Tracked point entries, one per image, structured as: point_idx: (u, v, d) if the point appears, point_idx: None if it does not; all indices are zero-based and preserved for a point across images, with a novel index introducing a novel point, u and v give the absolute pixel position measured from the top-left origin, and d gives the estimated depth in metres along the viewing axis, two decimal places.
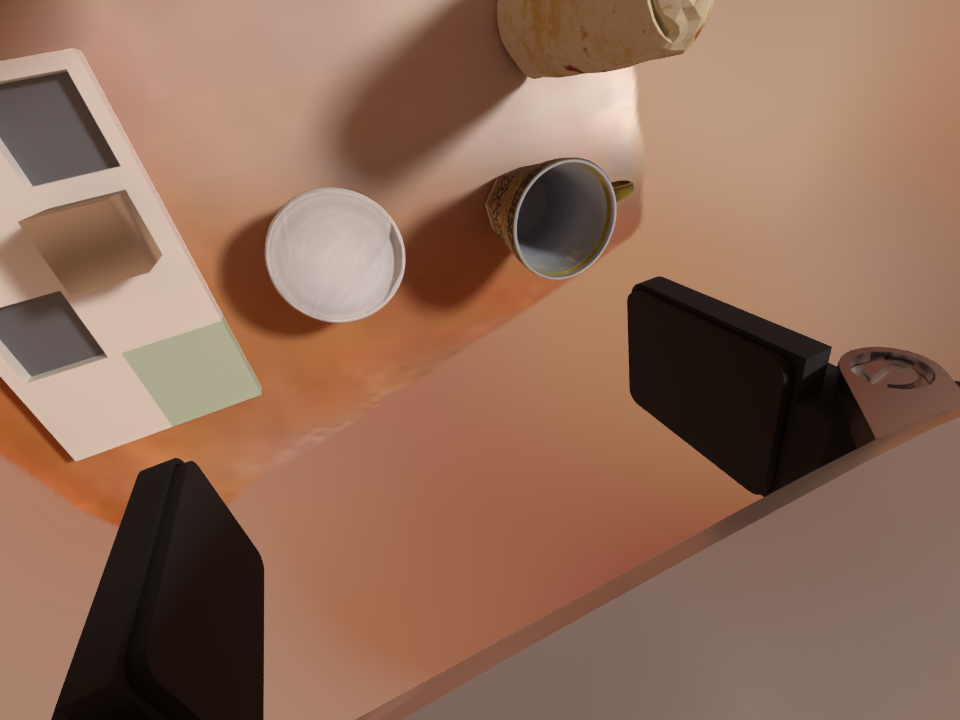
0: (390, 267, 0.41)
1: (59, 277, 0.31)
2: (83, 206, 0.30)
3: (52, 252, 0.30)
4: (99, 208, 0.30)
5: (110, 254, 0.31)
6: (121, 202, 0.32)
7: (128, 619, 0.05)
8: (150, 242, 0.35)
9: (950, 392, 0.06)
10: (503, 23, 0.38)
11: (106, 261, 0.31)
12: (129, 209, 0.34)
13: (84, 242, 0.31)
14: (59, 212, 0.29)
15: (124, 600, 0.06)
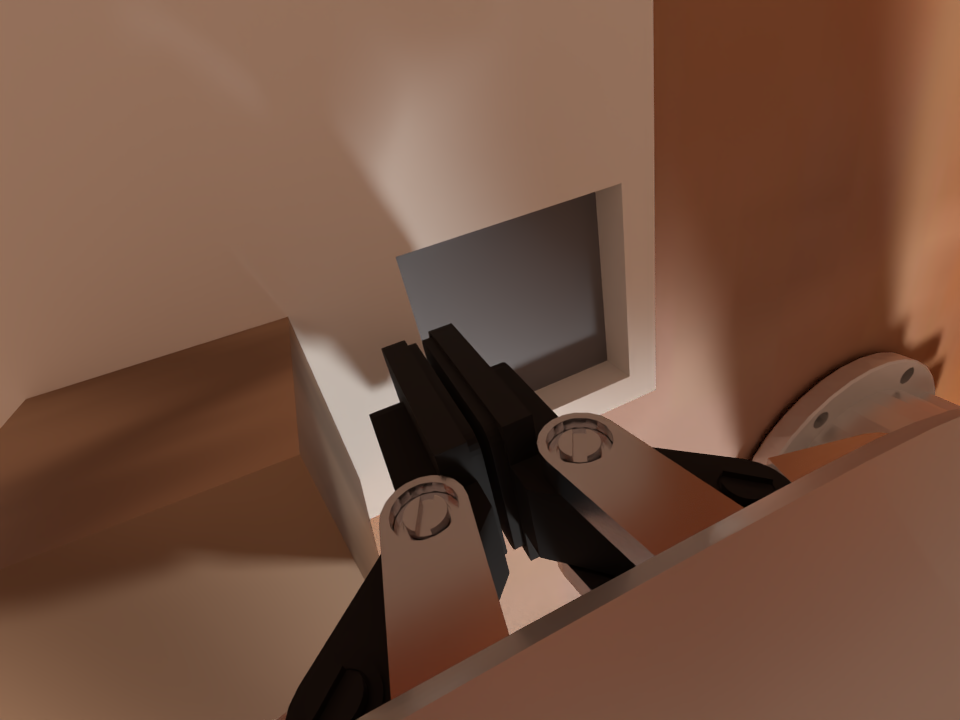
0: None
1: None
2: None
3: (143, 558, 0.06)
4: None
5: (176, 705, 0.07)
6: None
7: (450, 415, 0.07)
8: None
9: (630, 442, 0.06)
10: None
11: (135, 703, 0.07)
12: None
13: (224, 637, 0.07)
14: (351, 562, 0.07)
15: (437, 408, 0.08)
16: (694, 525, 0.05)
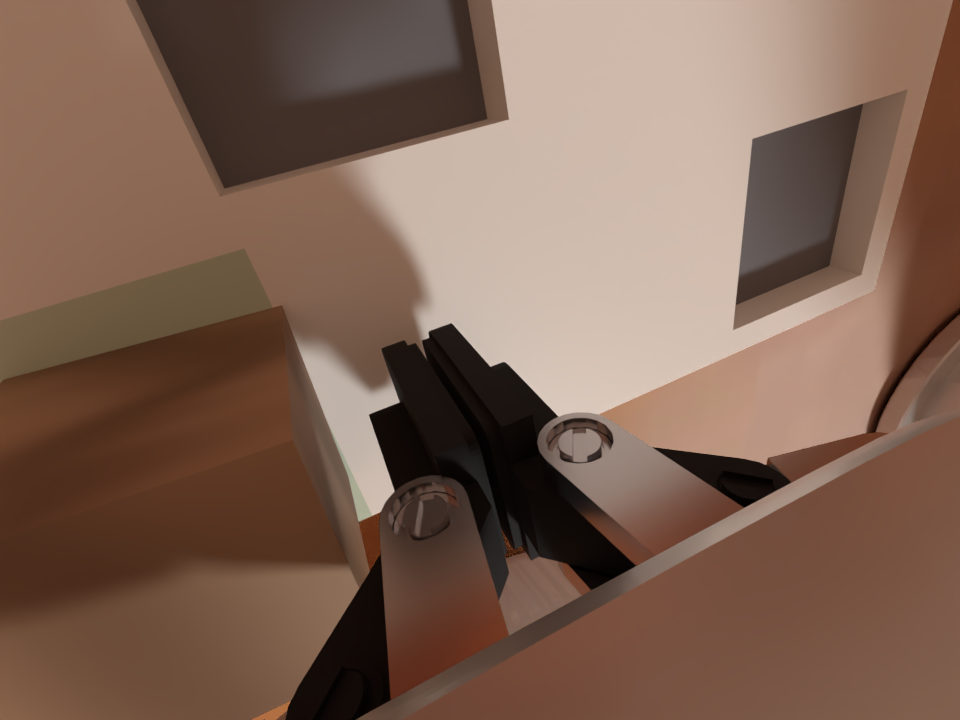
0: None
1: None
2: None
3: (124, 544, 0.06)
4: None
5: (149, 702, 0.07)
6: None
7: (450, 415, 0.07)
8: None
9: (630, 442, 0.06)
10: None
11: (106, 699, 0.06)
12: None
13: (204, 630, 0.07)
14: (340, 556, 0.07)
15: (436, 408, 0.08)
16: (694, 525, 0.05)
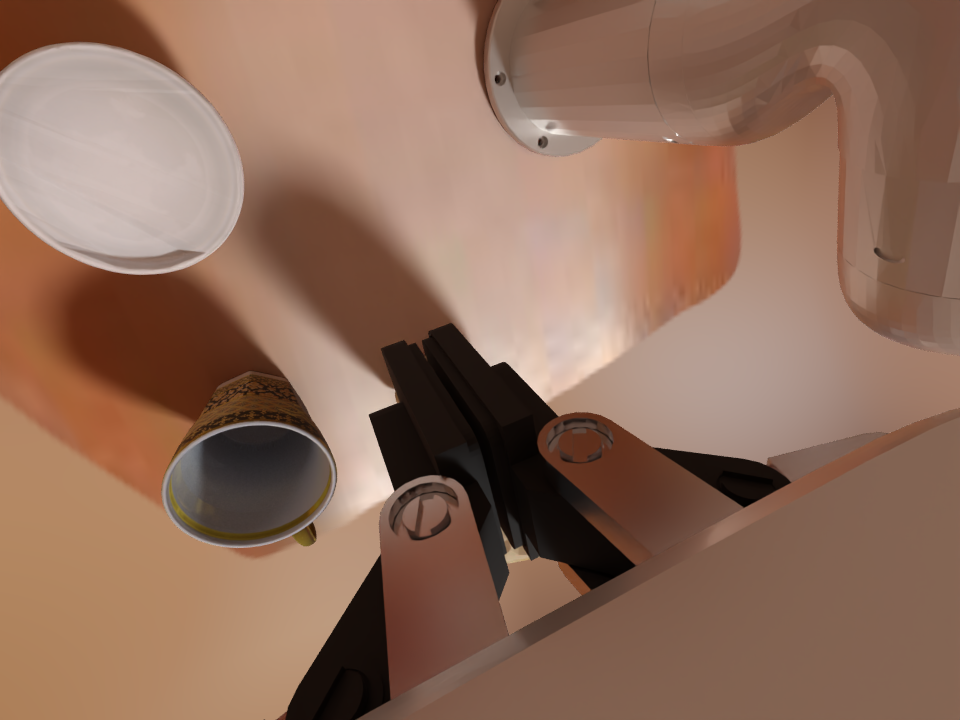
0: (126, 251, 0.26)
1: None
2: None
3: None
4: None
5: None
6: None
7: (450, 415, 0.07)
8: None
9: (630, 442, 0.06)
10: None
11: None
12: None
13: None
14: None
15: (437, 408, 0.08)
16: (694, 525, 0.05)
